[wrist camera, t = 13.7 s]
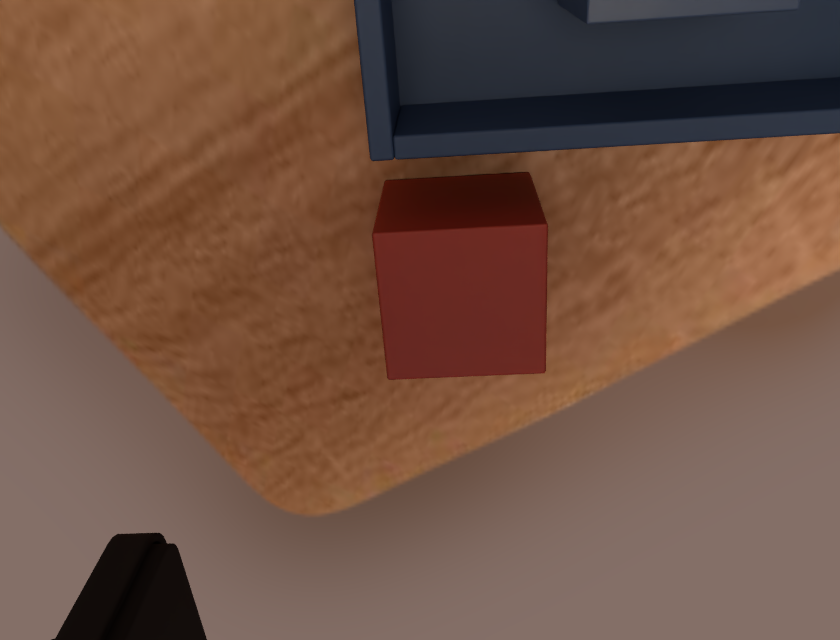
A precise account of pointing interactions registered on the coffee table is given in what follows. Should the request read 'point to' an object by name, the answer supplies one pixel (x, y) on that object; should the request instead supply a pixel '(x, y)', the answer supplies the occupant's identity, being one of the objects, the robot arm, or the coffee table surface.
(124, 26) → the coffee table surface
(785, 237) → the coffee table surface
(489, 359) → the red block
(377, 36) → the blue bin
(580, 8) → the blue block
